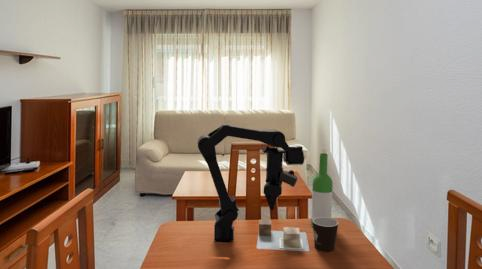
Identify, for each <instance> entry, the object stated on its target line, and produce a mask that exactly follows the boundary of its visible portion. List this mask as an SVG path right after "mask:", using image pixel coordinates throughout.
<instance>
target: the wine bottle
mask: <svg viewBox="0 0 482 269" xmlns="http://www.w3.org/2000/svg"><path fill="white" fill-rule="evenodd" d="M318 167H319V170H318V174H317V175H315V176H314V177H313V180H312V187H311V188H312V189H311V191H312V192H311V193H312V195H311V213H310V214H311V217H310V218H311V219H310V222H311V223H310V225H311V227H312V228H313V219H314V218H318V217H327V218H332V210H333V207H332V206H333V205H332V204H333V186H334V185H333V180H332V178H331V176H330V175H329V174H328V153H323V152H322V153H319V166H318Z"/></svg>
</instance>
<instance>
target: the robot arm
mask: <svg viewBox="0 0 482 269" xmlns="http://www.w3.org/2000/svg"><path fill="white" fill-rule="evenodd" d="M227 137H231V138H238V139H244V140H249V141H255V142H256V141H257V142H261V143H263V144H264V145H265V144H266V145H265V147H263V148H261V152H263V153H264V154H266V169H265V184H264V186H263V194H264V197H265V199H266V202H267V205H268V207H269V209H270V211H274V210H275V205H276V202H277V199H278V198H279V196H281V195H282V193H283V192H282V191H283V190H282V189H283V186H282V185H283V183H285V184H287V185H289V186H290V187H293V188H294V187H295V186H296V183H297V182H298V176H297V175H295V171H294V170H292V169H290V170H288V171H285V170H284V166H283V163H286V165H287V166H289V165H290V166H291V165H292V166H293V165H294V166H298V165H299V166H301V165H303V164H304V162H305V155H304V149H303V146H300V145H296V146H290V145H289V144H288V143H287V141H286V135H285V134H284V133H283V132H282V131H280V130H277V129H260V130H259V129H254V128H249V127H241V126H236V125H230V124H227V123H222V124H221V125H220V126H219V127H217V128H216V129H214V130H213V131H210V132H209V133H208V134H203V135H201V136H200V137H198V139H197V142H196V143H197V148H198V150H199V152H200V154H201V156H202V158H203V159H204V160H205V163H206V165H207V168H208V169H209V173H210V176H211V178H212V181H213V184H214V187H215V191H216V193H217V197H218V202H219V210H218V211H216V213H214V218H215V223H214V234H213V235H214V238H213V242H214V243H232V241H233V240H234V238H235V226H233V224H234V222H235V221H236V220H237V218H238V217H239V213H238V212H240V209H239V206H238V204H237V201H236V198H235V195H232V196H230V194H229V192H228V189H227V187H226V184H225V181H224V179H223V178H224V177H223V175H222V172H221V170H220V166H219V163H218V160H217V151H216V146H217V145H219V144H220V143H222V141H223V140H224V139H226V138H227ZM269 146H272V147H269ZM278 148H280V149H278Z"/></svg>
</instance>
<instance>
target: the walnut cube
mask: <svg viewBox="0 0 482 269" xmlns="http://www.w3.org/2000/svg"><path fill="white" fill-rule="evenodd" d="M271 231H272V219H259V222H258V233H259V236H271Z"/></svg>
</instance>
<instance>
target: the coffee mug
mask: <svg viewBox="0 0 482 269" xmlns="http://www.w3.org/2000/svg"><path fill="white" fill-rule="evenodd" d="M338 228H339V221H338V220H336V219H334V218H332V217H331V218H327V217H318V218H314V219H313V227H312V230H313V242H314V248H315V250H317V251H319V252H322V253H323V252H324V253H330V252H333V251H335V245H336V240H337V239H336V238H337V235H338Z"/></svg>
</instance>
